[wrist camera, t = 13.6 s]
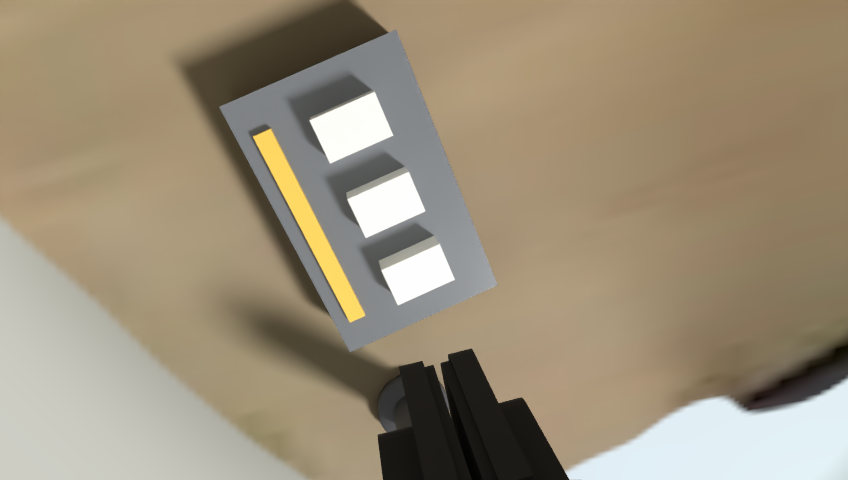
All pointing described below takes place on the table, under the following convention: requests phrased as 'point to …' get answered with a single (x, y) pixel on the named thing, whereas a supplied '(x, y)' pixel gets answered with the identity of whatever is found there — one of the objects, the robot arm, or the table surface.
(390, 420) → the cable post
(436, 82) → the table surface
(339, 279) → the switch panel
